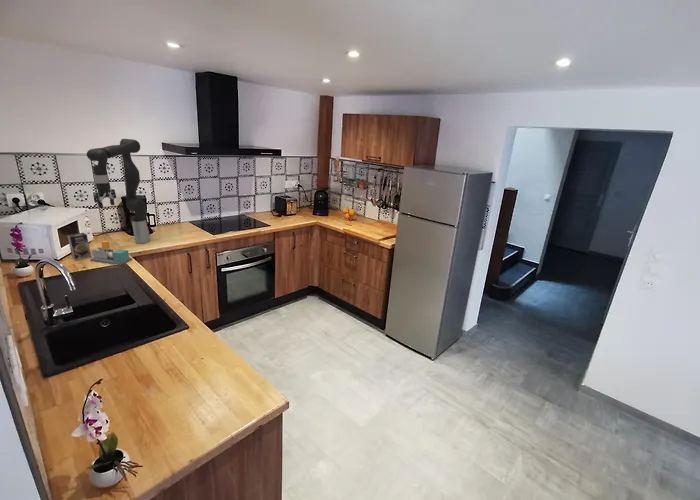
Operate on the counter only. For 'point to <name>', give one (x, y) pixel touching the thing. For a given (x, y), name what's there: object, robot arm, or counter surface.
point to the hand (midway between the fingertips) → (107, 206)
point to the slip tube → (106, 248)
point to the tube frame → (118, 257)
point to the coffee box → (79, 246)
